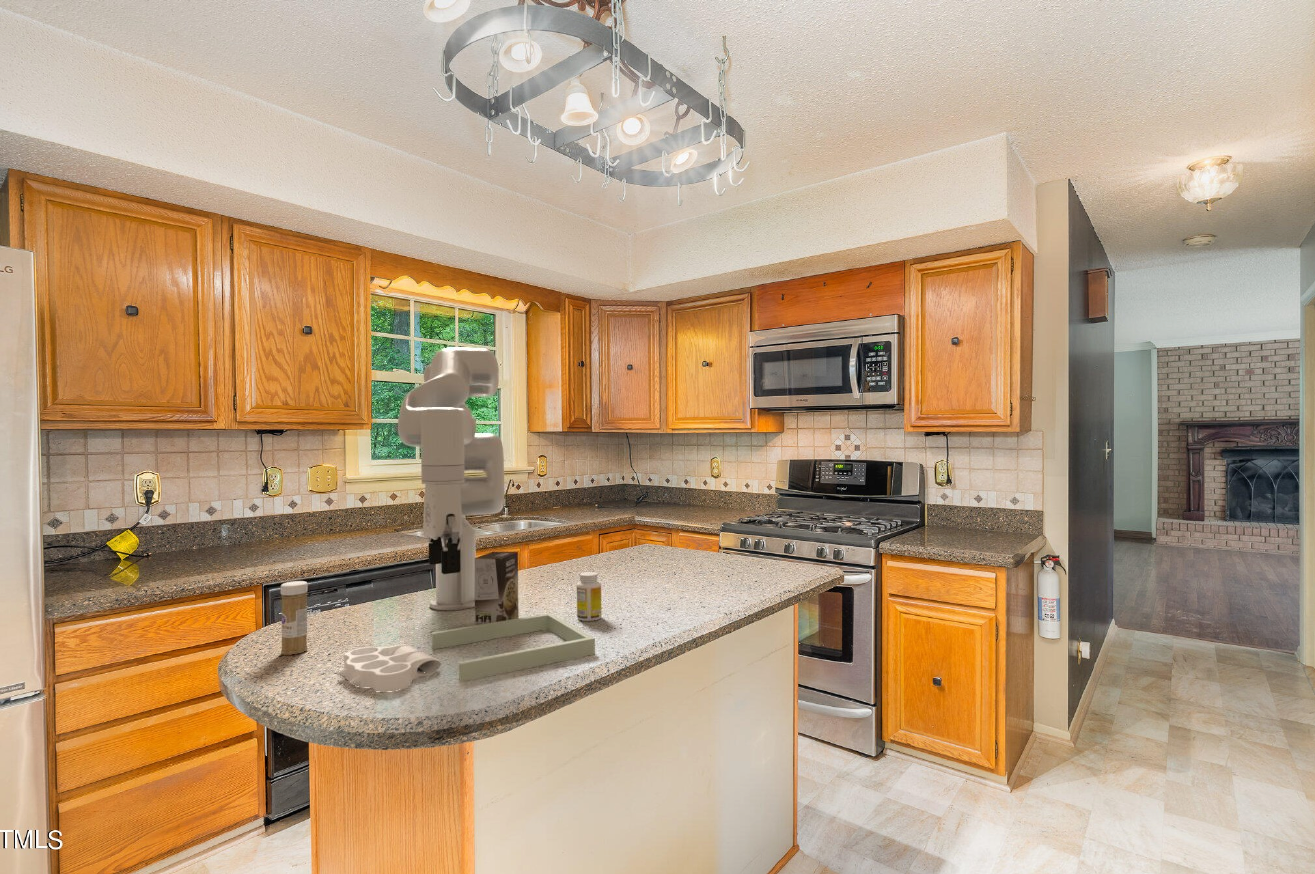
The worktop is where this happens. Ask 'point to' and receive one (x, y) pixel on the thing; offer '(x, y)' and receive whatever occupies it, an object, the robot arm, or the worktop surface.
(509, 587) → the coffee box
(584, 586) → the supplement bottle
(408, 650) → the white brass knuckles
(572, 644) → the green rectangular frame
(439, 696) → the worktop surface
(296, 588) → the sprinkles bottle
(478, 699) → the worktop surface
